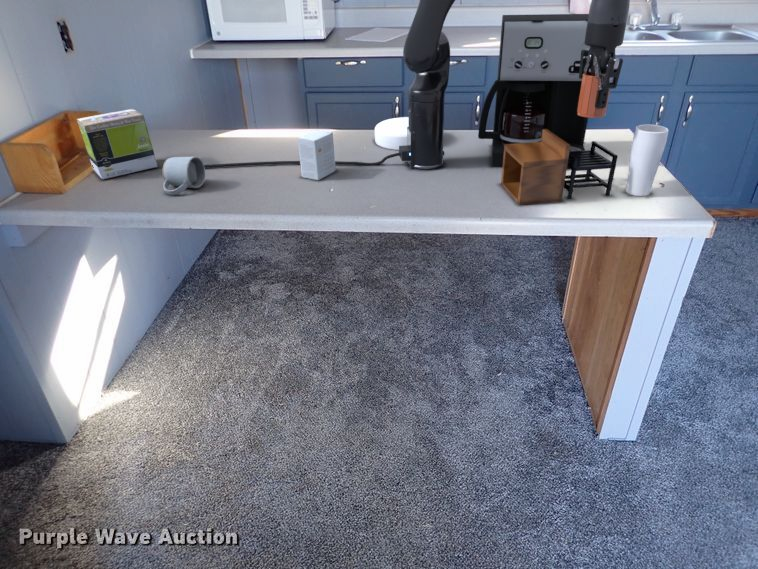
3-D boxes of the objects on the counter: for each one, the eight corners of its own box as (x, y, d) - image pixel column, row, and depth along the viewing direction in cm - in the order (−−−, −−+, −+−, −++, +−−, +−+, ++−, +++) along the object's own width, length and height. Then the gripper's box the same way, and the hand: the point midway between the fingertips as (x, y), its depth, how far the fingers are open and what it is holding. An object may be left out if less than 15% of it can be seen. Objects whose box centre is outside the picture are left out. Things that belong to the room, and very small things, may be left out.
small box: (319, 168, 148) (315, 129, 142) (336, 171, 145) (333, 131, 140) (301, 177, 142) (296, 137, 136) (318, 180, 139) (314, 140, 134)
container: (443, 149, 159) (444, 133, 156) (375, 151, 159) (374, 135, 156) (436, 129, 176) (437, 115, 173) (374, 131, 176) (374, 117, 173)
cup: (584, 118, 118) (591, 77, 114) (572, 111, 123) (578, 72, 119) (610, 116, 119) (618, 75, 114) (597, 110, 124) (604, 70, 119)
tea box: (147, 159, 158) (134, 107, 151) (158, 168, 151) (144, 114, 144) (92, 171, 151) (75, 116, 143) (101, 180, 144) (83, 124, 136)
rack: (568, 199, 125) (574, 158, 120) (549, 182, 134) (554, 143, 129) (609, 196, 126) (618, 155, 121) (588, 179, 135) (594, 141, 130)
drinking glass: (634, 200, 123) (649, 134, 116) (615, 189, 129) (628, 125, 121) (659, 196, 125) (676, 130, 117) (640, 186, 130) (654, 122, 123)
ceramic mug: (180, 179, 143) (173, 150, 139) (208, 181, 141) (202, 152, 137) (156, 195, 134) (148, 165, 130) (185, 197, 132) (178, 167, 128)
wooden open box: (519, 205, 123) (525, 148, 116) (500, 184, 134) (505, 131, 127) (561, 201, 124) (570, 145, 117) (539, 181, 135) (546, 128, 128)
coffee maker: (476, 166, 145) (485, 21, 127) (477, 144, 161) (486, 13, 143) (586, 170, 140) (613, 20, 122) (576, 147, 157) (599, 11, 138)
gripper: (574, 17, 117) (562, 98, 126) (606, 24, 105) (591, 113, 113) (607, 15, 118) (593, 96, 126) (643, 22, 105) (625, 111, 114)
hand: (592, 104), depth 120 cm, fingers closed on cup, 6 cm apart
